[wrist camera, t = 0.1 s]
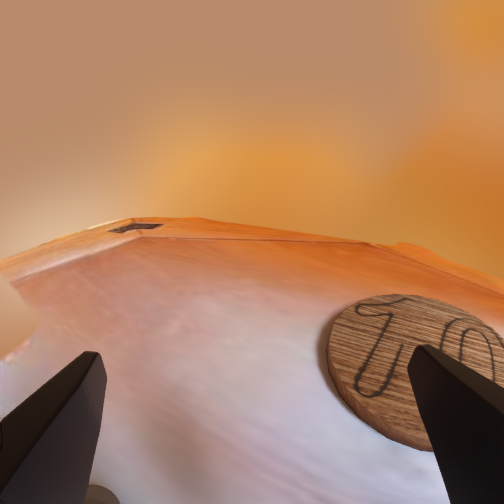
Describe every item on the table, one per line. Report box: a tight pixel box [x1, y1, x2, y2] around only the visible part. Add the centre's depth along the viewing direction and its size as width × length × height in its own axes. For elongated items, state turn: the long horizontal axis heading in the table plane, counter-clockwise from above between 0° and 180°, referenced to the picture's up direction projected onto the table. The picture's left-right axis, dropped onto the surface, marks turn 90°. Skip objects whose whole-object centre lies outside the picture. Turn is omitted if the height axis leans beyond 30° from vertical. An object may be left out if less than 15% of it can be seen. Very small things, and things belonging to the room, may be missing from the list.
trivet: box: [326, 294, 504, 452], centre depth 30 cm, size 25×25×2 cm
